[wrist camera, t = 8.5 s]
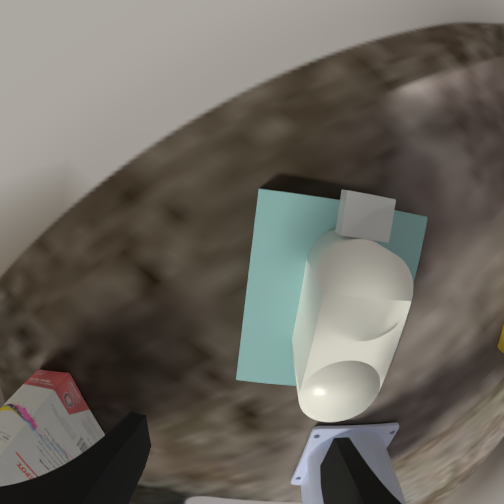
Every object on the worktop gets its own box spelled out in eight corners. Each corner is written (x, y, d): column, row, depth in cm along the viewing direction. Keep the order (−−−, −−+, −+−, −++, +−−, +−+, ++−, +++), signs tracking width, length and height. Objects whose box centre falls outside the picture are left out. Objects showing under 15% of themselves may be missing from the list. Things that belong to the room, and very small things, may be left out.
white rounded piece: (346, 369, 18) (365, 421, 13) (286, 365, 18) (291, 421, 13) (386, 198, 15) (432, 207, 10) (317, 185, 15) (341, 188, 10)
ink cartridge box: (37, 367, 21) (-51, 458, 7) (71, 371, 21) (-22, 484, 6) (73, 430, 23) (14, 523, 9) (108, 437, 22) (52, 546, 8)
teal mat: (373, 377, 19) (378, 387, 18) (237, 369, 19) (236, 379, 18) (418, 214, 16) (427, 217, 15) (259, 188, 16) (258, 189, 15)
